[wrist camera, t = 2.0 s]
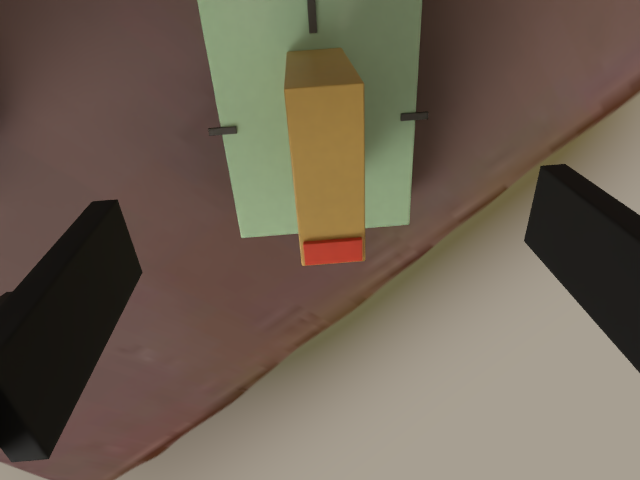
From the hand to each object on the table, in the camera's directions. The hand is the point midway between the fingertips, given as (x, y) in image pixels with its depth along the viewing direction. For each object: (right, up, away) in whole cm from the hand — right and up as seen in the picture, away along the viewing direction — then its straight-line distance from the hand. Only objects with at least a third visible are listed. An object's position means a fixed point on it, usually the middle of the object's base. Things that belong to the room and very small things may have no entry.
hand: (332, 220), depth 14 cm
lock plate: (-1, +7, +11) cm, 13 cm away
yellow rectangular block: (0, +5, +8) cm, 10 cm away
